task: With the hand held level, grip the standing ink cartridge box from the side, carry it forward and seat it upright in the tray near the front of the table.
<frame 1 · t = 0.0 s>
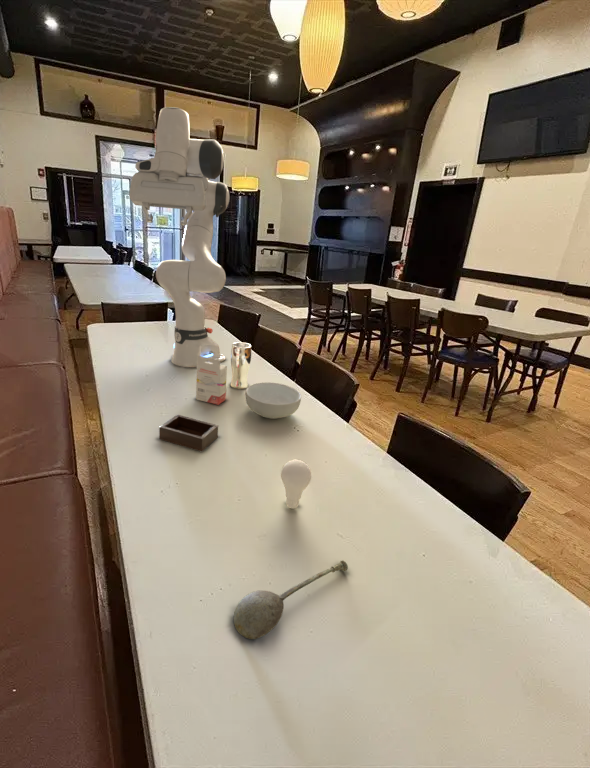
hand: (166, 223, 112), 52 cm above the table, tool tilted 20°, fingers open, 8 cm apart
lightbulb: (291, 508, 86), on the table
ink cartridge box: (210, 400, 133), on the table
tray: (188, 438, 109), on the table
cereal bowl: (271, 413, 127), on the table
soupspoon: (295, 598, 65), on the table
beer glass: (239, 386, 146), on the table
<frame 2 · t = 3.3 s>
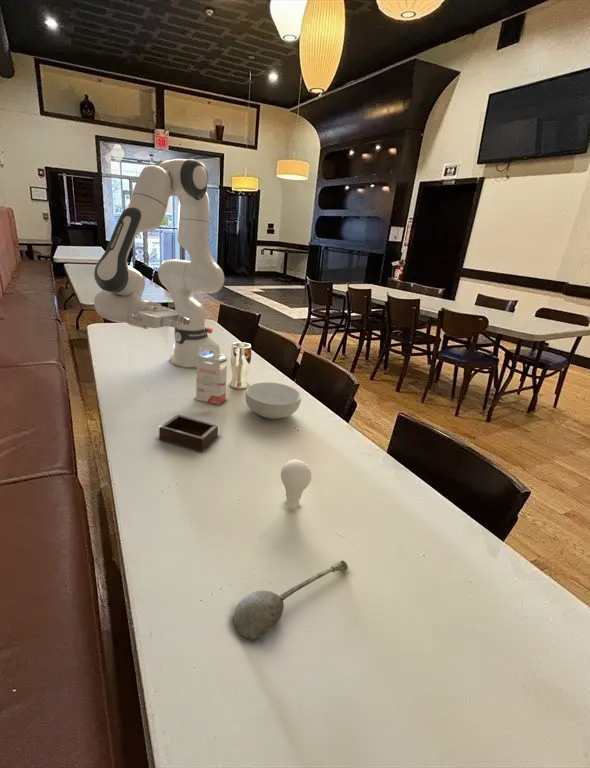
hand: (184, 323, 128), 23 cm above the table, tool horizontal, fingers open, 8 cm apart
nothing on the table moved.
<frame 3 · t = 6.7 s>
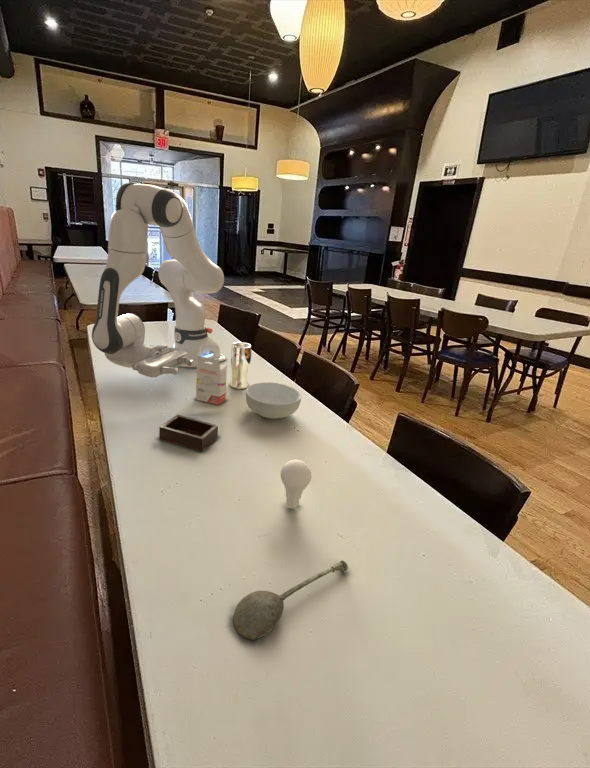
hand: (185, 367, 132), 9 cm above the table, tool horizontal, fingers open, 8 cm apart
nothing on the table moved.
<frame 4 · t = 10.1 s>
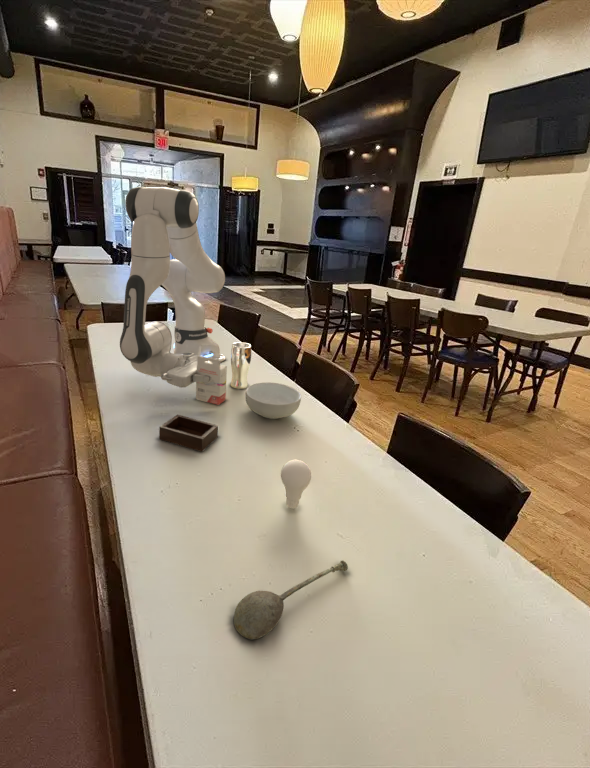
hand: (214, 376, 129), 8 cm above the table, tool horizontal, fingers closed on ink cartridge box, 5 cm apart
ink cartridge box: (210, 400, 133), on the table, touching gripper
everything else where it was.
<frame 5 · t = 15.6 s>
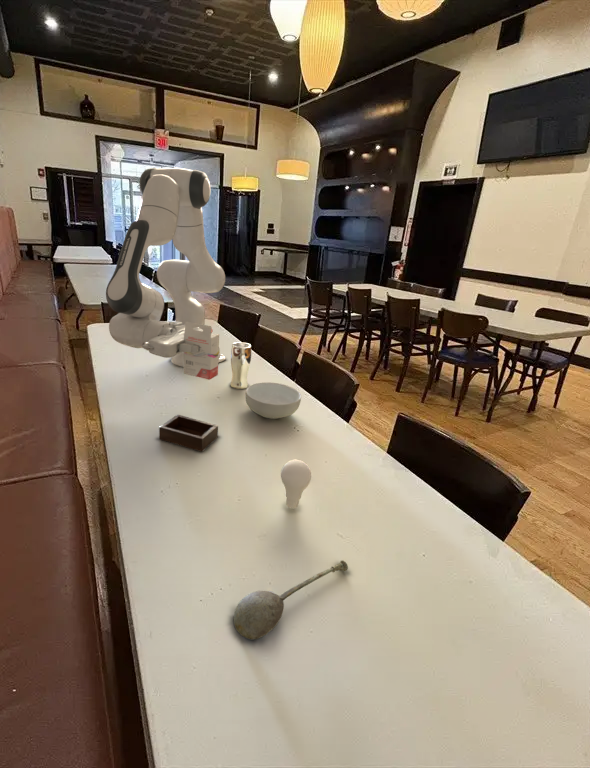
hand: (204, 346, 111), 22 cm above the table, tool horizontal, fingers closed on ink cartridge box, 5 cm apart
ink cartridge box: (200, 375, 114), point 14 cm above the table, touching gripper
everything else where it was.
when the fingers open (9 cm above the table, at t = 21.4 s): ink cartridge box stays where it is, resting on tray.
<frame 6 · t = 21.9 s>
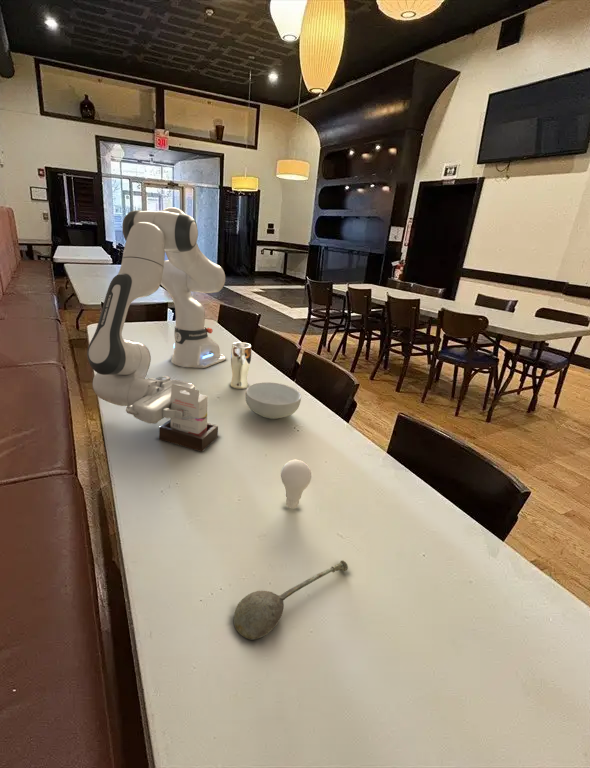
hand: (192, 407, 105), 9 cm above the table, tool horizontal, fingers open, 8 cm apart
ink cartridge box: (188, 436, 109), resting on tray
everything else where it was.
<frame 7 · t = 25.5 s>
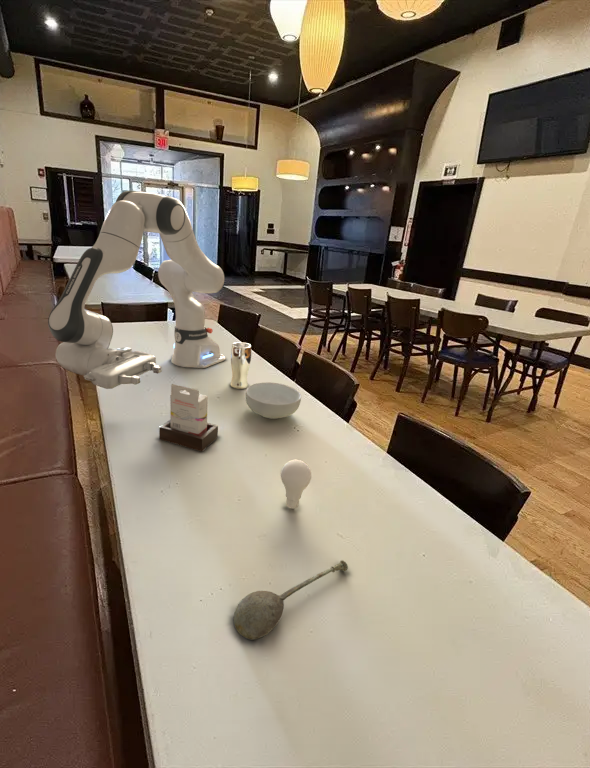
hand: (149, 375, 109), 14 cm above the table, tool horizontal, fingers open, 8 cm apart
nothing on the table moved.
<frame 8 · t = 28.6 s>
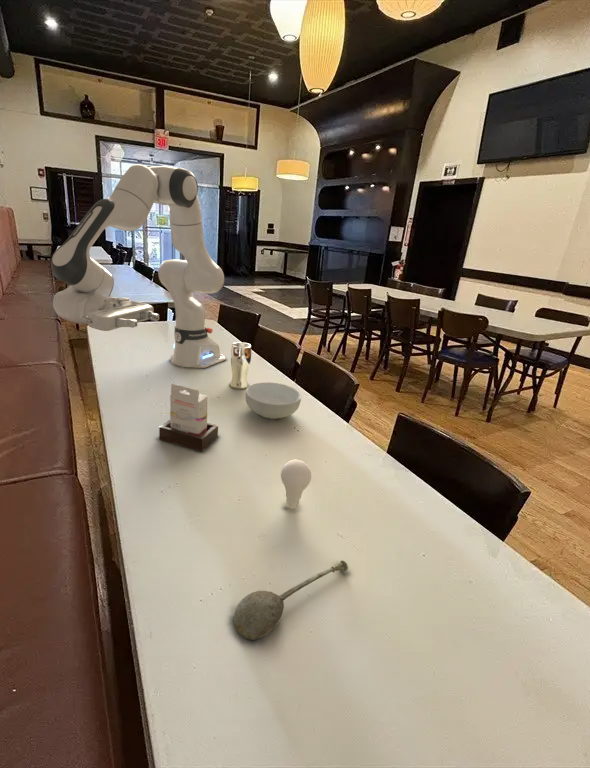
hand: (147, 320, 108), 28 cm above the table, tool horizontal, fingers open, 8 cm apart
nothing on the table moved.
at the end: ink cartridge box 0.1 cm off-centre on the tray, point 0.4 cm above the tray's base; ink cartridge box tilted 0°; the gripper is holding nothing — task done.
